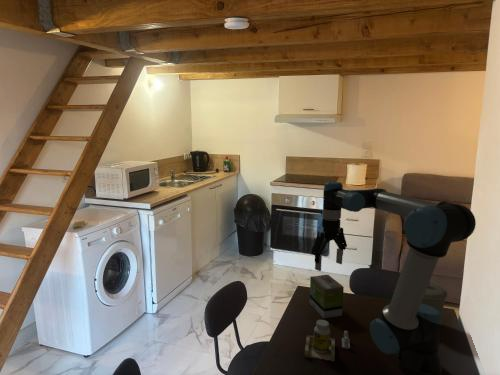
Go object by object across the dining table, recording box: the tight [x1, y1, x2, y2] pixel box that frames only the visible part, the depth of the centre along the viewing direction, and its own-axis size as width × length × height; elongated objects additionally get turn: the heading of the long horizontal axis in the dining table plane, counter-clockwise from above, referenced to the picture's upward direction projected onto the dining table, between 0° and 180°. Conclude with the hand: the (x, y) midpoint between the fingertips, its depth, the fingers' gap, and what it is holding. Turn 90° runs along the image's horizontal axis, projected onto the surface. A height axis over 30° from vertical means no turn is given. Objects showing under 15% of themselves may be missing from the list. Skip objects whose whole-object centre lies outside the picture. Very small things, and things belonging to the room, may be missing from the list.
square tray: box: [304, 334, 336, 362], centre depth 145 cm, size 11×11×3 cm
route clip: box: [341, 330, 351, 350], centre depth 150 cm, size 3×6×4 cm, turn 168°
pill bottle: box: [313, 319, 331, 353], centre depth 145 cm, size 6×6×11 cm
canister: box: [421, 281, 449, 316], centre depth 165 cm, size 18×18×21 cm
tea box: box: [309, 274, 345, 319], centre depth 177 cm, size 15×10×15 cm
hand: (328, 266), depth 161 cm, fingers open, 13 cm apart
